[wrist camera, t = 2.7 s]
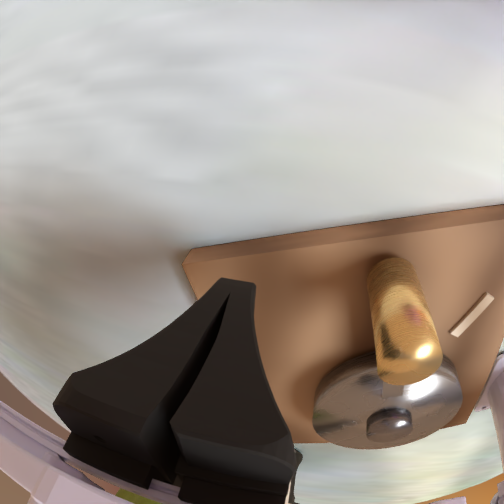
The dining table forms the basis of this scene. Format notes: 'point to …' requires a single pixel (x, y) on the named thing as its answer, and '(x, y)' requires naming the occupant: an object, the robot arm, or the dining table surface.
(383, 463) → the dining table surface
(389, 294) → the crank handle wheel
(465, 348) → the cutting board
